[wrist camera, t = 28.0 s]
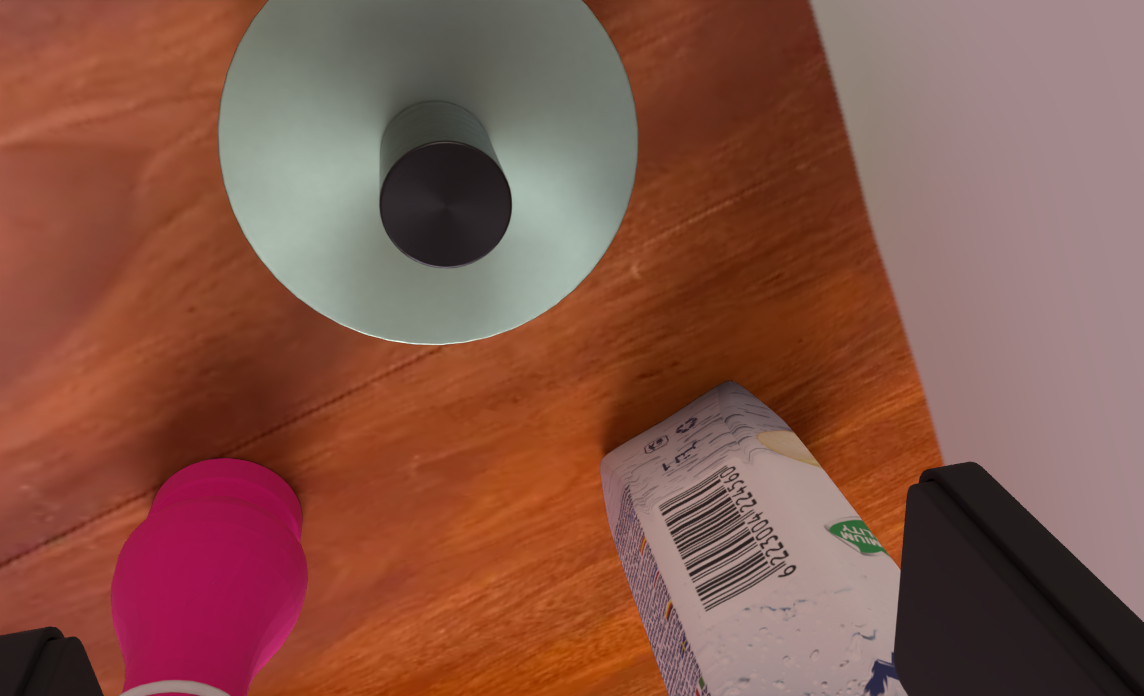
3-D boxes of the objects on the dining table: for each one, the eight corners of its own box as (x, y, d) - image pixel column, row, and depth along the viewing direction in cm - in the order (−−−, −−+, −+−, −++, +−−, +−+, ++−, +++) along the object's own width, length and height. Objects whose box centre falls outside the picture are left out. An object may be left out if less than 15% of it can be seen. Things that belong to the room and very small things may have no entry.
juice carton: (674, 594, 48) (967, 1294, 24) (568, 451, 43) (799, 1144, 19) (828, 503, 47) (1287, 1131, 23) (736, 347, 43) (1195, 933, 19)
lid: (274, 358, 34) (251, 456, 28) (172, -48, 28) (117, -31, 22) (641, 303, 36) (692, 385, 30) (618, -92, 30) (676, -87, 24)
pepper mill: (340, 479, 42) (310, 911, 24) (276, 602, 44) (206, 1083, 26) (174, 422, 39) (5, 859, 22) (115, 556, 42) (-82, 1053, 24)
